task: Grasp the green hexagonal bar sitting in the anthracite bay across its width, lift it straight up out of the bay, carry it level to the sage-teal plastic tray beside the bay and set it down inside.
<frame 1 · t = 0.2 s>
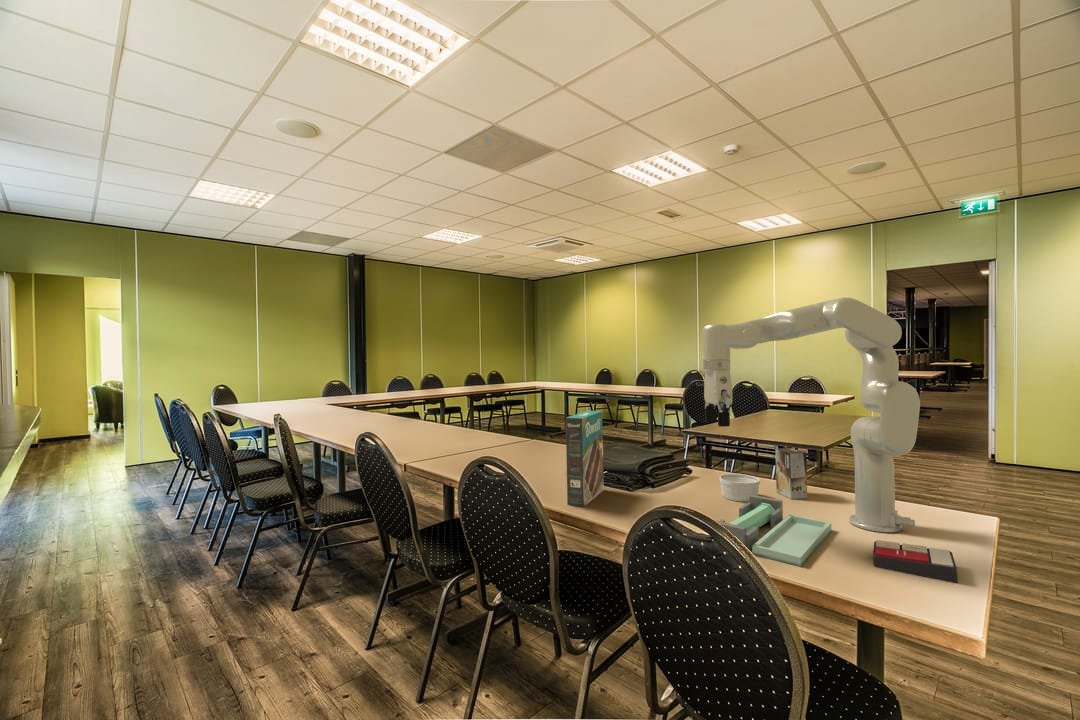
hand: (717, 423, 140), 30 cm above the table, tool pointing down, fingers open, 9 cm apart
cake mix box: (586, 497, 172), on the table
bay: (748, 531, 136), on the table
tray: (794, 541, 128), on the table
coffee box: (791, 495, 169), on the table
ramekin: (739, 498, 168), on the table
green hexagonal bar: (747, 532, 136), on the table
black switch panel: (912, 568, 112), on the table
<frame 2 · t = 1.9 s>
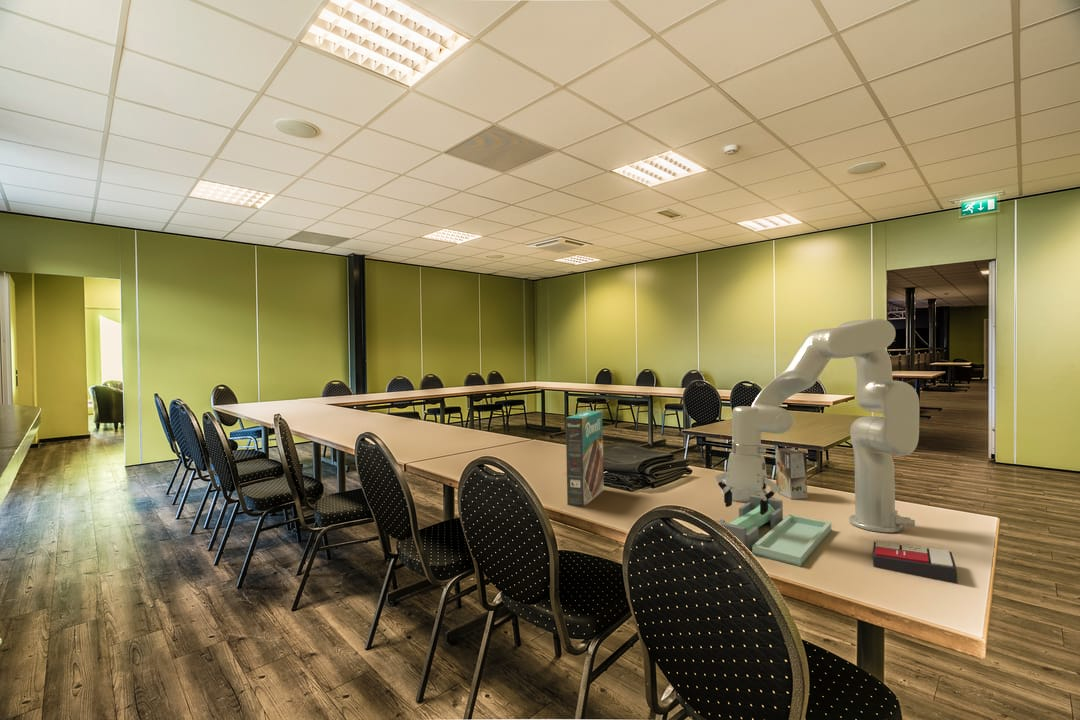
hand: (745, 509, 136), 6 cm above the table, tool pointing down, fingers open, 9 cm apart
nothing on the table moved.
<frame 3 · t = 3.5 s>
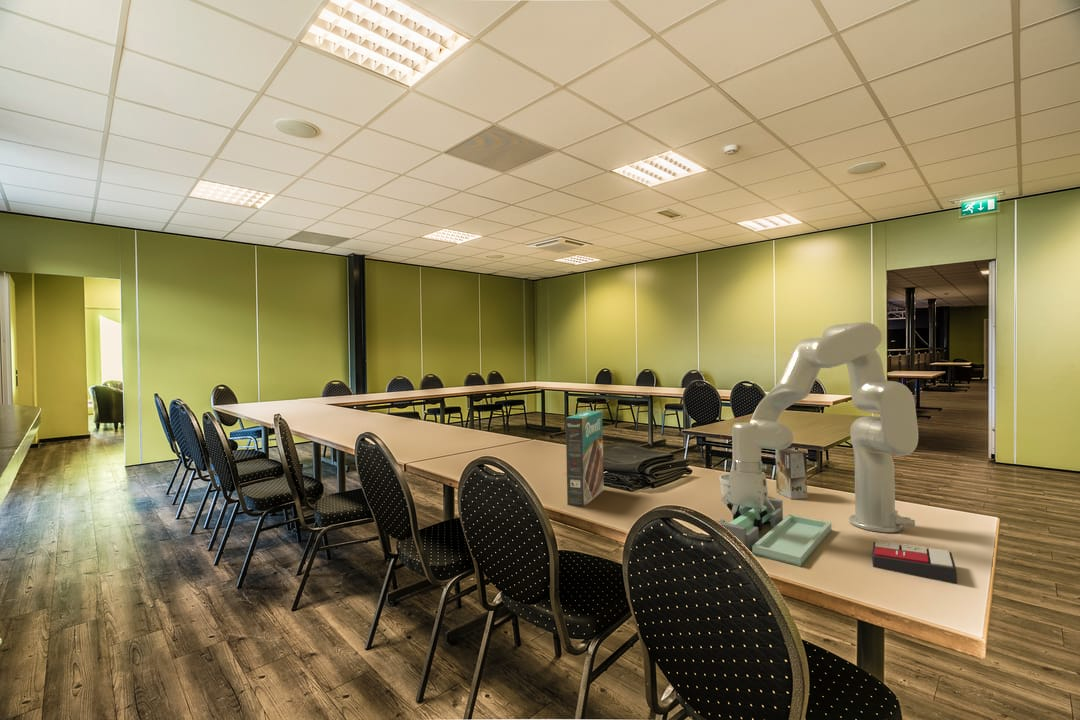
hand: (747, 529, 136), 1 cm above the table, tool pointing down, fingers closed on green hexagonal bar, 4 cm apart
green hexagonal bar: (747, 532, 136), on the table, touching gripper
everything else where it was.
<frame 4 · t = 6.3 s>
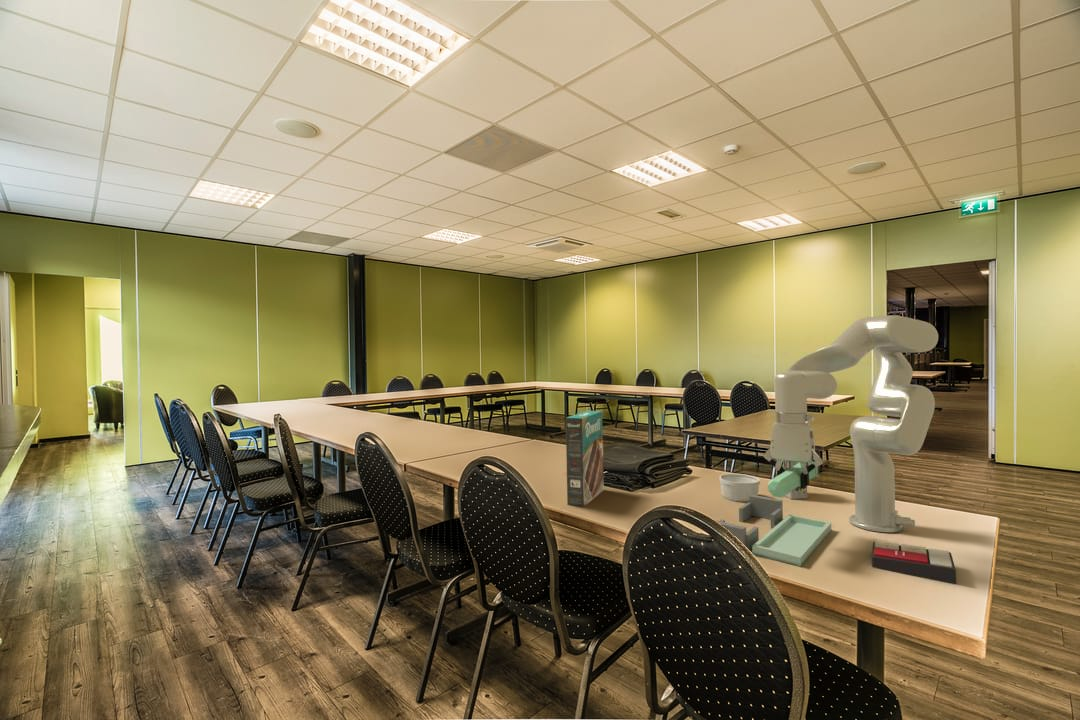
hand: (792, 485, 128), 15 cm above the table, tool pointing down, fingers closed on green hexagonal bar, 4 cm apart
green hexagonal bar: (792, 488, 128), point 14 cm above the table, touching gripper
everything else where it was.
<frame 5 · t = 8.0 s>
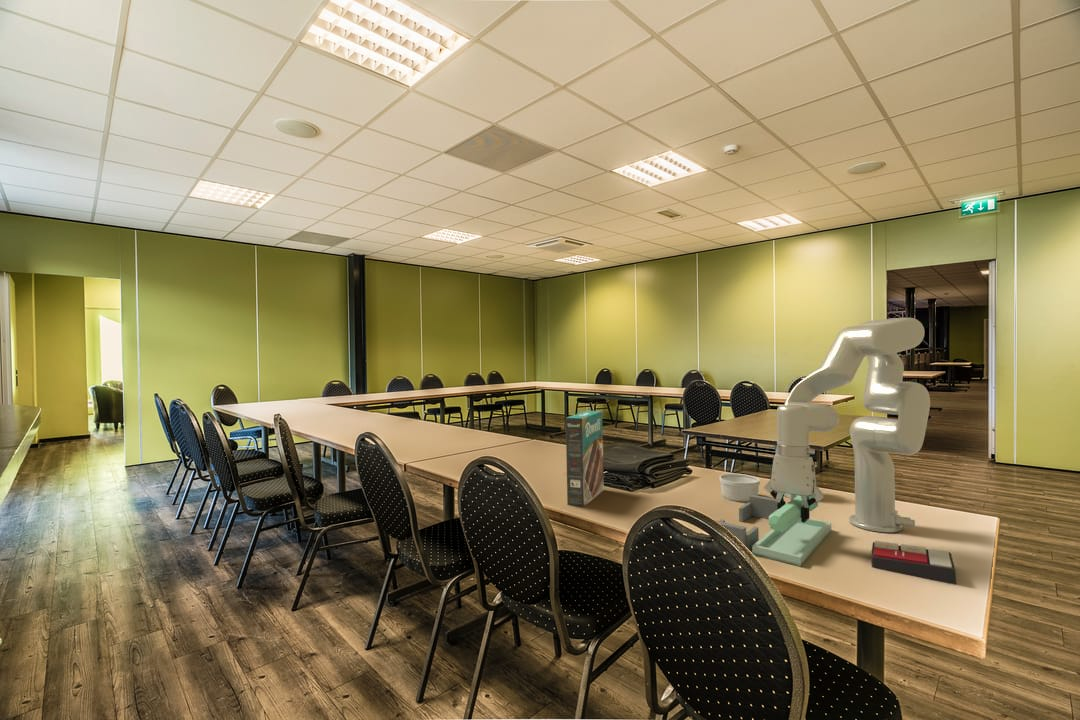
hand: (793, 518, 127), 6 cm above the table, tool pointing down, fingers closed on green hexagonal bar, 4 cm apart
green hexagonal bar: (792, 521, 127), point 6 cm above the table, touching gripper
everything else where it was.
when the fingers open (2 cm above the table, at t = 9.2 s): green hexagonal bar drops 1 cm, resting on tray.
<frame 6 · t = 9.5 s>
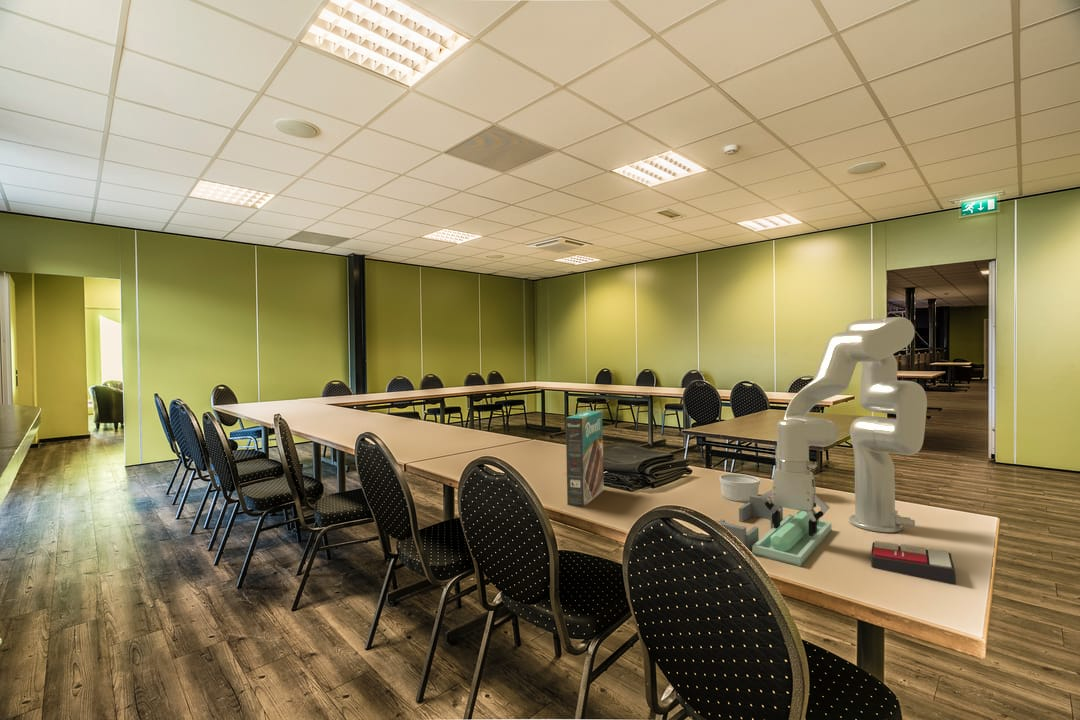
hand: (794, 530, 128), 3 cm above the table, tool pointing down, fingers open, 8 cm apart
green hexagonal bar: (794, 540, 128), resting on tray
everything else where it was.
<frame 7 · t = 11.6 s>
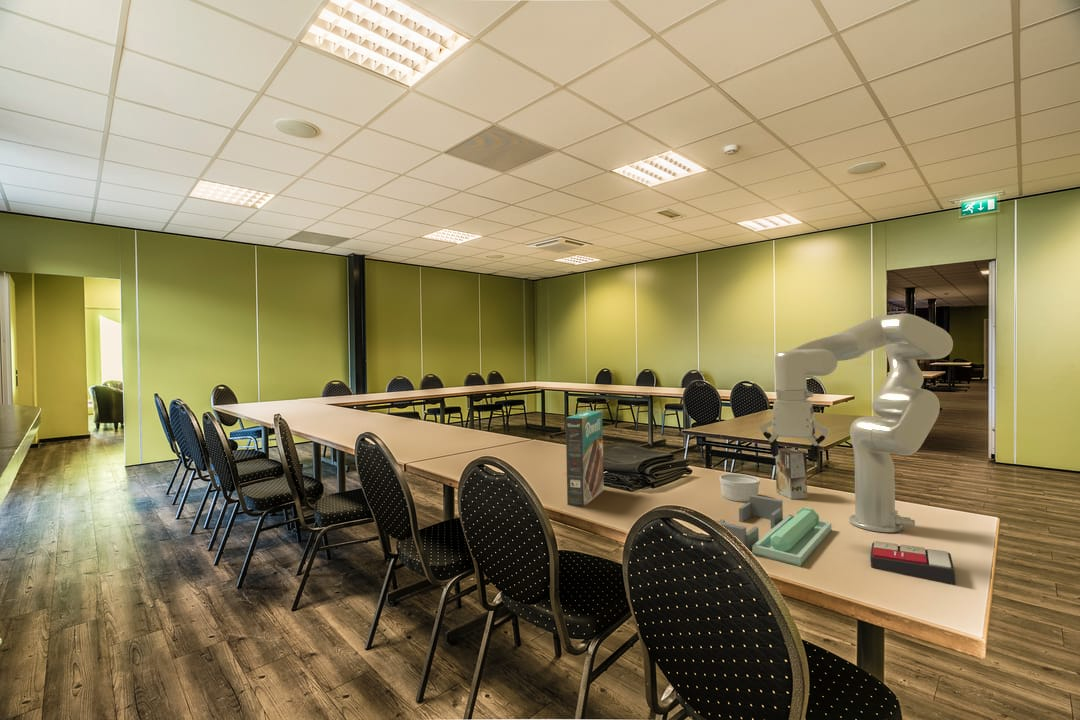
hand: (794, 457, 131), 22 cm above the table, tool pointing down, fingers open, 9 cm apart
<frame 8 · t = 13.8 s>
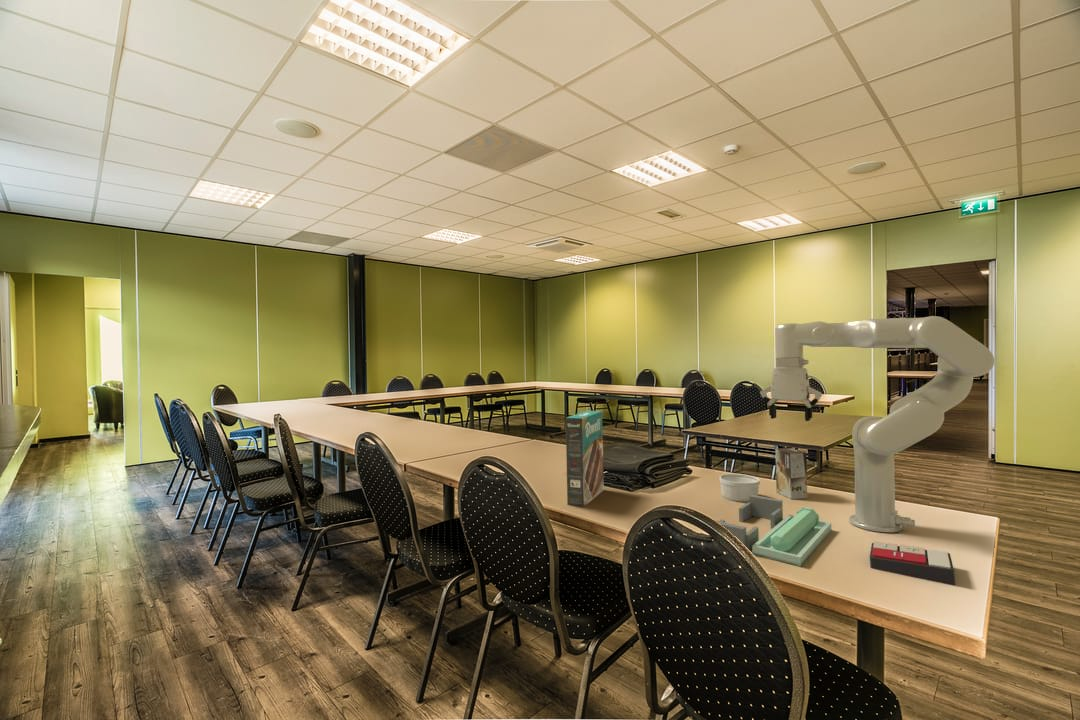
hand: (790, 419, 146), 30 cm above the table, tool pointing down, fingers open, 9 cm apart
at the end: green hexagonal bar inside the target area on the tray (0.1 cm from its centre), point 0.4 cm above the tray's base; the gripper is holding nothing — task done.
